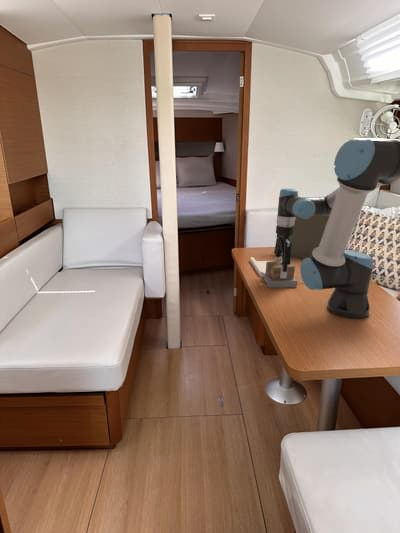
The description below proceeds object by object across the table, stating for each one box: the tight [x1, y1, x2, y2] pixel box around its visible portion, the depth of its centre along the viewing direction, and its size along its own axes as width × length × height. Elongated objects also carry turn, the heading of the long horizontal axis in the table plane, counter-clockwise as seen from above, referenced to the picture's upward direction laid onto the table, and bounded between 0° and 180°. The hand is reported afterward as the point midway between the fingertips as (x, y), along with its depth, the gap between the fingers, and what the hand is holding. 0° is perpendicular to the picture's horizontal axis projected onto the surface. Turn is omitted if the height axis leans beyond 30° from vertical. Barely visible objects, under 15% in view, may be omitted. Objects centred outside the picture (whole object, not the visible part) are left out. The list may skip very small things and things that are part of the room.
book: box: [289, 216, 329, 259], centre depth 200 cm, size 22×9×28 cm, turn 79°
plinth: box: [262, 273, 298, 288], centre depth 166 cm, size 10×13×3 cm
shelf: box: [249, 256, 272, 277], centre depth 182 cm, size 22×15×3 cm
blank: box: [265, 260, 296, 281], centre depth 165 cm, size 8×10×6 cm
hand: (280, 274), depth 166 cm, fingers closed on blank, 9 cm apart
